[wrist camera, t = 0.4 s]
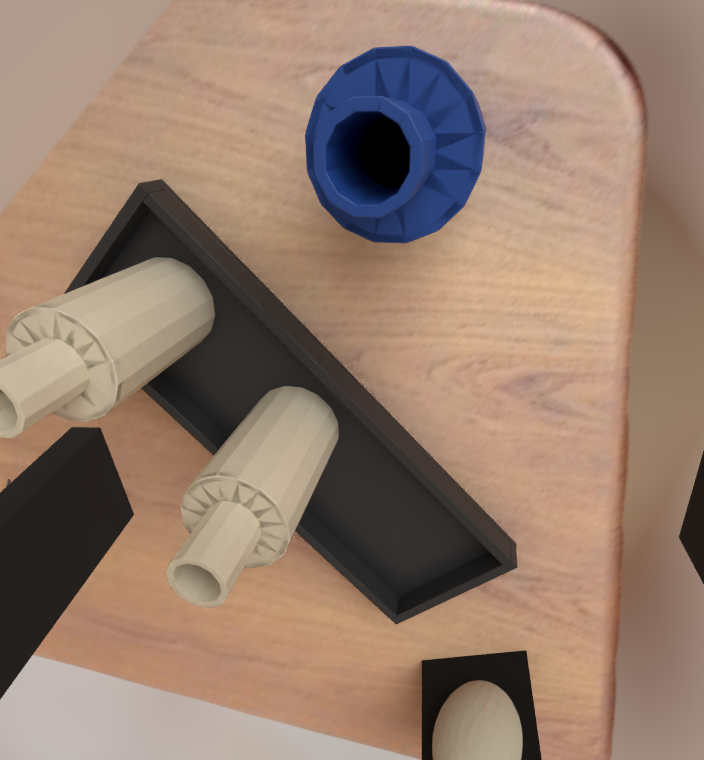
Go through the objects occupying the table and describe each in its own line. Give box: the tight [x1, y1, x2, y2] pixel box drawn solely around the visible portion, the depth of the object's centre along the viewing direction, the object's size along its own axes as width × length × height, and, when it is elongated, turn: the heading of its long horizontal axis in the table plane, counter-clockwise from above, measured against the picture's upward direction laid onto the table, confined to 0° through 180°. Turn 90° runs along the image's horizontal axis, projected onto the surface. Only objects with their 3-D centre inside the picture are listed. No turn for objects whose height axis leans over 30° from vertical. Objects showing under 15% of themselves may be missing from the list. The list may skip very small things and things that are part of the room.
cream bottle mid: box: [166, 386, 339, 608], centre depth 34 cm, size 7×7×16 cm
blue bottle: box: [305, 46, 486, 243], centre depth 23 cm, size 7×7×16 cm
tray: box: [64, 179, 517, 624], centre depth 40 cm, size 38×13×3 cm, turn 45°
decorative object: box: [422, 651, 542, 760], centre depth 45 cm, size 13×10×10 cm
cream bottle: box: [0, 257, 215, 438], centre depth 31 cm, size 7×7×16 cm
